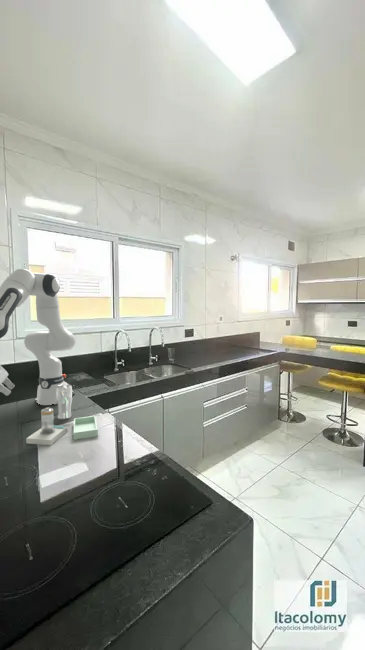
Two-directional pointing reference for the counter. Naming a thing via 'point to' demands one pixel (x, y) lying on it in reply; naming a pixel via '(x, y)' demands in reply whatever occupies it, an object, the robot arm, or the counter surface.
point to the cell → (47, 420)
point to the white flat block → (46, 436)
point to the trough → (85, 427)
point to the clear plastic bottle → (64, 401)
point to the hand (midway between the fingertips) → (11, 390)
